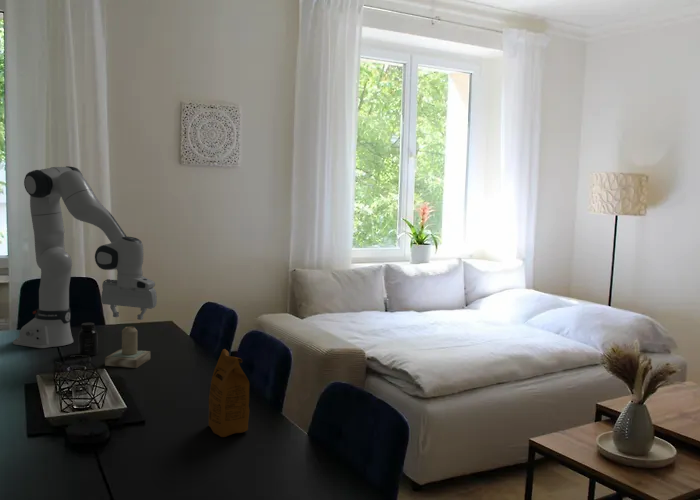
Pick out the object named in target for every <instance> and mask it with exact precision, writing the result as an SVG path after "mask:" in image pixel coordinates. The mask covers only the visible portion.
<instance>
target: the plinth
mask: <svg viewBox="0 0 700 500" xmlns="http://www.w3.org/2000/svg"><path fill="white" fill-rule="evenodd" d="M150 360H151V350H138V349H137V354H134V355H124V354H122V348H120V349H118V350H115V352H112V353H110V354H109V355H107V356H105V357H104V366H105V367H107V366H109V367H118V368H119V367H121V368H132V369H133V368H134V369H137V368H139V367H141V366H143V365H144V364H145V363H147V362H148V361H150Z"/></svg>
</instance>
